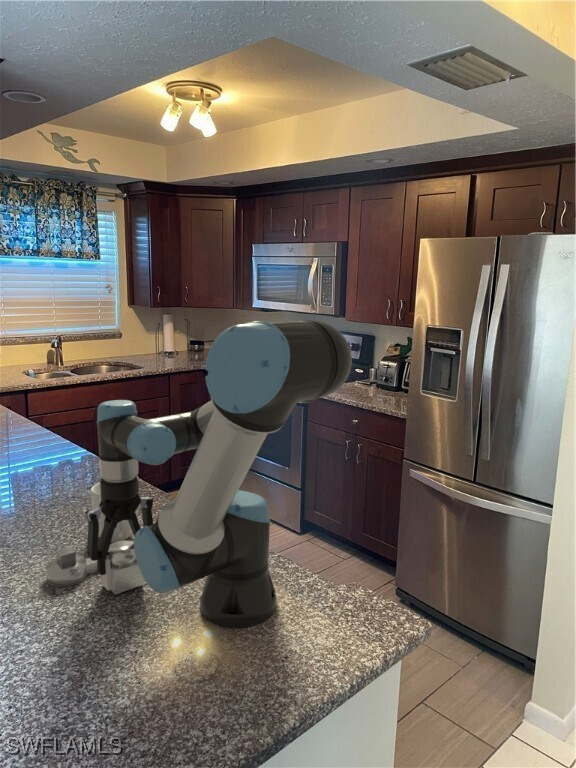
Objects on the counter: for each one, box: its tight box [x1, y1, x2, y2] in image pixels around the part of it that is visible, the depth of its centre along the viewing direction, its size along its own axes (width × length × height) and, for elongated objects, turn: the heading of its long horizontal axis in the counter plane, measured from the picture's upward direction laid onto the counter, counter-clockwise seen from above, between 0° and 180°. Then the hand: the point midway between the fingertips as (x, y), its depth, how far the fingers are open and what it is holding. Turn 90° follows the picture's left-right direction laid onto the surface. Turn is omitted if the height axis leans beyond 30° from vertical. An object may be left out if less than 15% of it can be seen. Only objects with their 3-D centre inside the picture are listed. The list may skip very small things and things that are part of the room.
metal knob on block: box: [107, 540, 145, 595], centre depth 116 cm, size 6×6×8 cm
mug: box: [90, 482, 139, 543], centre depth 137 cm, size 15×11×13 cm
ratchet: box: [45, 546, 98, 588], centre depth 124 cm, size 8×22×6 cm, turn 130°
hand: (123, 581), depth 117 cm, fingers closed on metal knob on block, 6 cm apart
